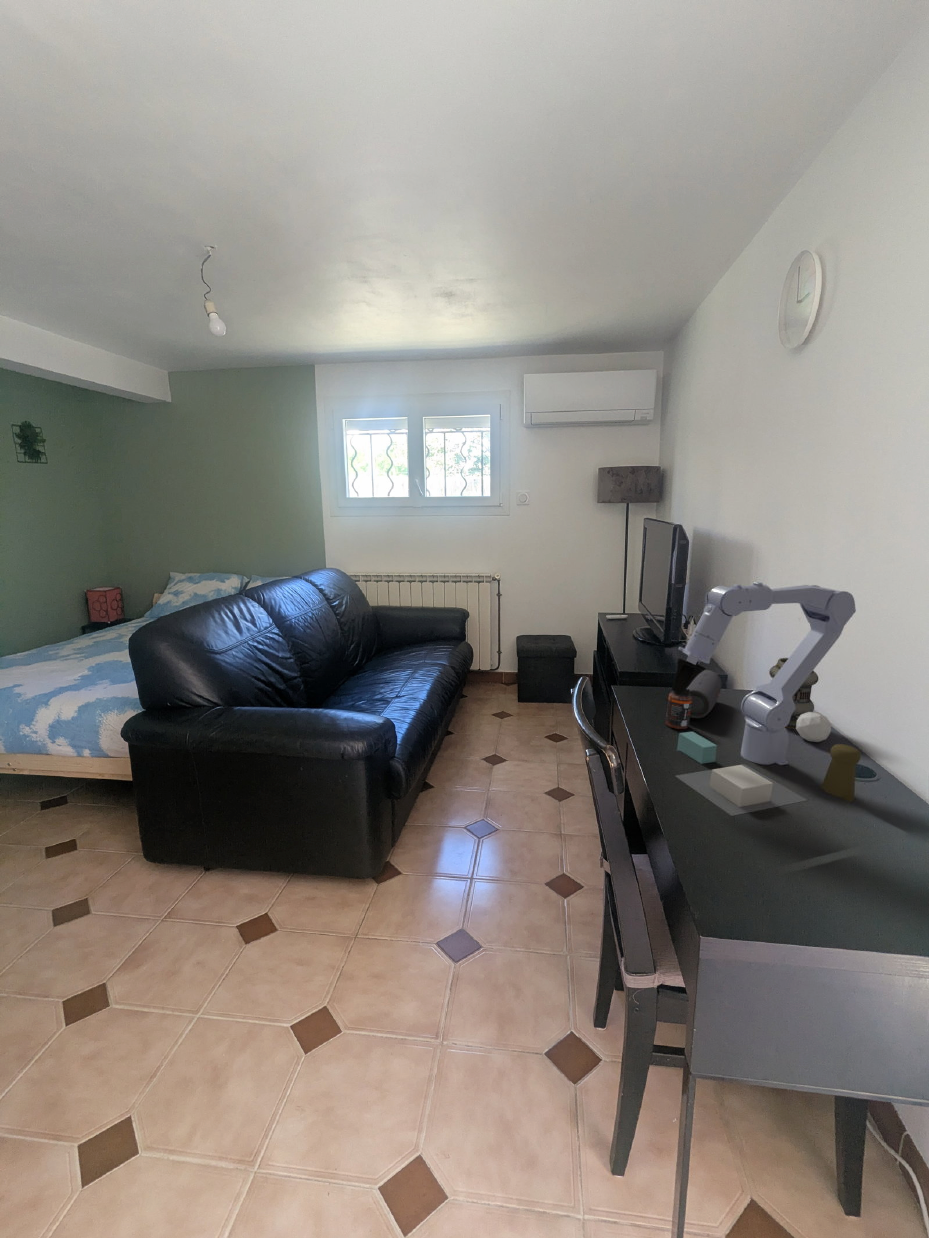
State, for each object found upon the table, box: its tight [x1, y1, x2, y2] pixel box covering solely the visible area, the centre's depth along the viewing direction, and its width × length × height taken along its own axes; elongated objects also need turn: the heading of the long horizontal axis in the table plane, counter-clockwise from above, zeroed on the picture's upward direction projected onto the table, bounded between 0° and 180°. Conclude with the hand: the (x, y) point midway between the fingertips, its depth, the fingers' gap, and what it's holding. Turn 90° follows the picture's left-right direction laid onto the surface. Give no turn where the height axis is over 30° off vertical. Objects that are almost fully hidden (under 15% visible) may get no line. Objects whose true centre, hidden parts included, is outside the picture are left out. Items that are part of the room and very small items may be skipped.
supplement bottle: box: [665, 687, 692, 730], centre depth 147 cm, size 6×6×11 cm
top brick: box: [676, 731, 718, 765], centre depth 129 cm, size 4×8×5 cm, turn 19°
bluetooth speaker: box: [688, 669, 722, 719], centre depth 159 cm, size 23×9×10 cm, turn 148°
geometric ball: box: [795, 711, 832, 743], centre depth 141 cm, size 8×8×8 cm
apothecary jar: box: [768, 657, 819, 730], centre depth 151 cm, size 12×12×18 cm
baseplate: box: [675, 763, 808, 817], centre depth 115 cm, size 20×16×1 cm
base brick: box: [710, 764, 773, 807], centre depth 112 cm, size 8×8×4 cm
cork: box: [821, 743, 861, 803], centre depth 114 cm, size 6×6×11 cm
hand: (677, 690), depth 122 cm, fingers open, 7 cm apart
